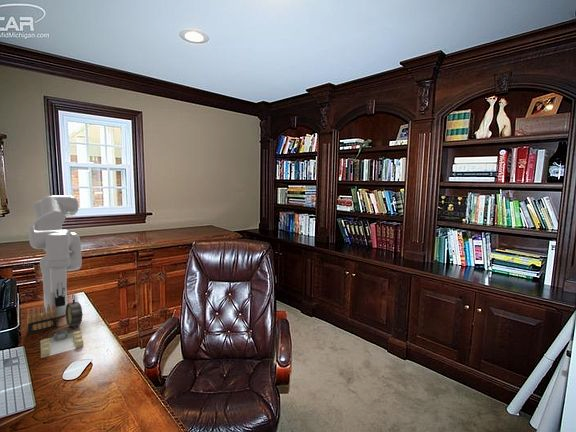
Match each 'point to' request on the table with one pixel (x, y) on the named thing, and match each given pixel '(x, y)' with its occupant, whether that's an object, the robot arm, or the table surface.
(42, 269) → the robot arm
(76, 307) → the alarm clock
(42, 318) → the ammunition clip
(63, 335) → the grey faceted block
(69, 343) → the spacer board
